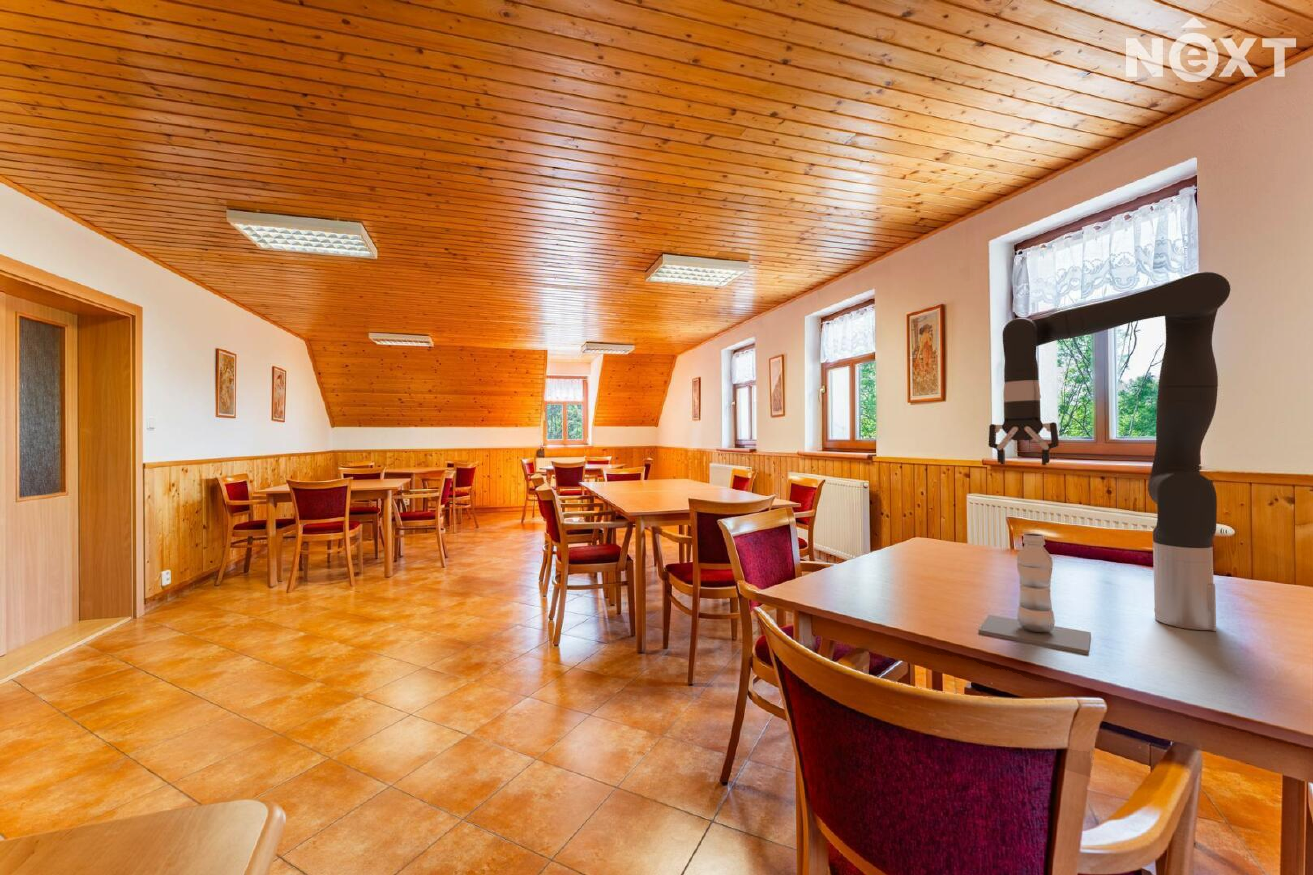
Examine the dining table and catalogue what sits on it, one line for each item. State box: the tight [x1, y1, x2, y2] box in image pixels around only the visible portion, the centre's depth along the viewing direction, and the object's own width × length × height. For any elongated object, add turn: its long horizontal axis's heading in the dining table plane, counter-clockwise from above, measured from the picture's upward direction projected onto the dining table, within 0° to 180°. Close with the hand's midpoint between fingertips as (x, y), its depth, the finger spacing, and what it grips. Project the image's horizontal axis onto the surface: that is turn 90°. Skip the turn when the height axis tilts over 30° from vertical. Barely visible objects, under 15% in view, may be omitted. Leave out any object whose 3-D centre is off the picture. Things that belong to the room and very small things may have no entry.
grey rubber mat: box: [978, 614, 1092, 656], centre depth 111 cm, size 18×12×1 cm, turn 49°
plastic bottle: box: [1015, 532, 1056, 632], centre depth 111 cm, size 6×7×20 cm
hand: (1023, 464), depth 132 cm, fingers open, 8 cm apart
